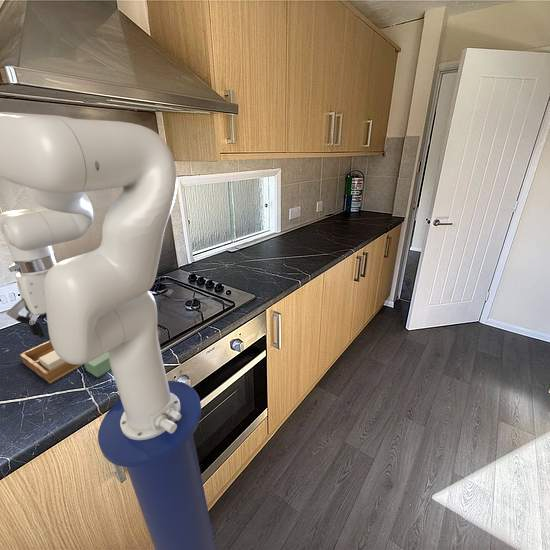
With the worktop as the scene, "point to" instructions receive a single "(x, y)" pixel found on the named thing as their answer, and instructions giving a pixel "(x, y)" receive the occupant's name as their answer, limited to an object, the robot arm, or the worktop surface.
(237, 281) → the worktop surface
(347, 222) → the worktop surface
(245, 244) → the worktop surface
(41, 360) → the pad
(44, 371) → the holder
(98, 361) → the pad
